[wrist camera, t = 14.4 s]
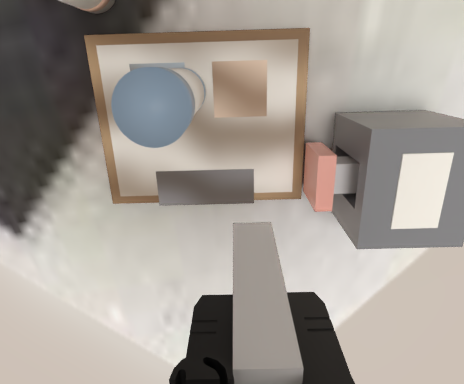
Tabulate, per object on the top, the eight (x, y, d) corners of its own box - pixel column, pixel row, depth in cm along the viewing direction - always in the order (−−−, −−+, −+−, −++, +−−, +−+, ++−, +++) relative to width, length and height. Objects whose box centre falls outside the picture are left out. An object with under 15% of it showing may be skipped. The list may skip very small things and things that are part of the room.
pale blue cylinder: (159, 67, 24) (105, 68, 14) (206, 65, 24) (187, 65, 13) (164, 114, 25) (118, 148, 15) (209, 113, 25) (193, 146, 15)
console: (335, 112, 26) (372, 129, 19) (425, 110, 26) (494, 126, 19) (327, 206, 29) (357, 249, 22) (408, 203, 29) (463, 247, 22)
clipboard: (87, 35, 24) (82, 34, 23) (308, 28, 24) (310, 27, 23) (115, 202, 29) (112, 206, 28) (299, 198, 28) (301, 201, 28)
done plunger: (305, 142, 25) (318, 155, 21) (400, 139, 25) (429, 153, 21) (303, 191, 27) (314, 211, 23) (392, 188, 27) (418, 209, 23)
